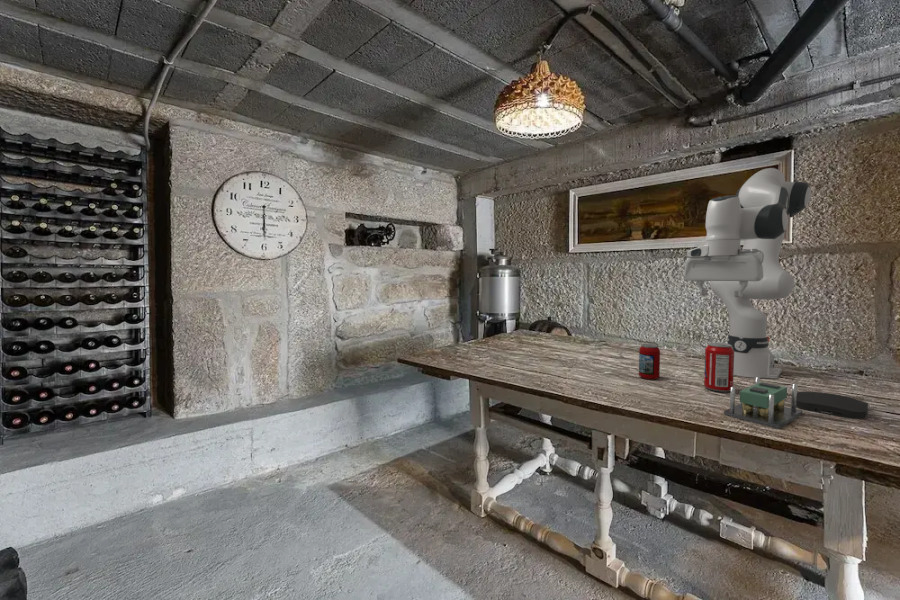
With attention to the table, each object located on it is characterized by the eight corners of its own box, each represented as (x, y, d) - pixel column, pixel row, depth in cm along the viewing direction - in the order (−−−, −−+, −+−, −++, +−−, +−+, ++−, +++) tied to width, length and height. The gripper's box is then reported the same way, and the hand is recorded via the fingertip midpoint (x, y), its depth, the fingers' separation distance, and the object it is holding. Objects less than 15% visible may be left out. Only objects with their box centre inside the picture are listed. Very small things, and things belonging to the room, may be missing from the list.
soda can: (718, 394, 125) (719, 347, 124) (698, 387, 133) (699, 342, 132) (739, 392, 127) (740, 345, 126) (718, 385, 134) (719, 341, 133)
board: (760, 392, 113) (760, 380, 113) (786, 397, 108) (787, 384, 108) (739, 402, 106) (740, 388, 105) (767, 408, 101) (767, 394, 100)
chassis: (750, 402, 117) (751, 375, 117) (802, 414, 107) (804, 385, 107) (723, 414, 107) (724, 385, 107) (778, 429, 98) (779, 397, 97)
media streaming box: (800, 397, 122) (800, 387, 122) (868, 409, 111) (869, 398, 111) (790, 408, 113) (791, 398, 112) (865, 422, 102) (865, 411, 101)
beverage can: (634, 376, 147) (635, 344, 146) (649, 374, 149) (649, 343, 148) (648, 381, 141) (649, 347, 140) (663, 379, 143) (664, 346, 142)
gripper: (768, 248, 113) (766, 297, 114) (691, 252, 130) (690, 294, 131) (759, 248, 109) (757, 298, 110) (682, 251, 126) (680, 295, 127)
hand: (720, 296), depth 120 cm, fingers open, 8 cm apart
